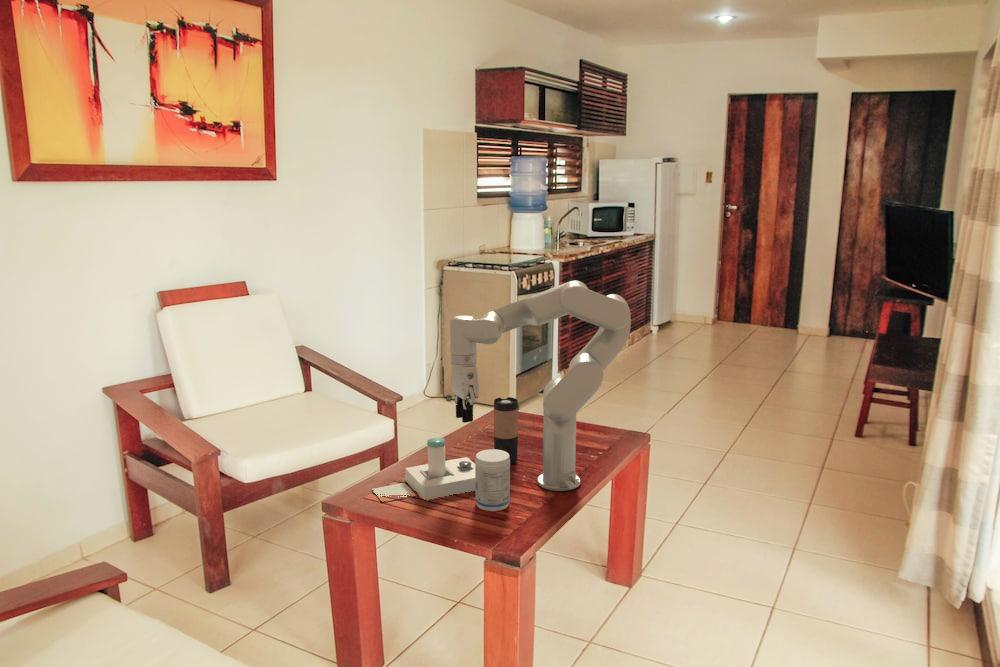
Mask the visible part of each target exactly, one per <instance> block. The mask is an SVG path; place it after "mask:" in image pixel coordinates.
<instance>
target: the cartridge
mask: <svg viewBox="0 0 1000 667" xmlns="http://www.w3.org/2000/svg"><path fill="white" fill-rule="evenodd" d="M445 461H446V439H444V438H442V437H433V438H432V437H431V438H429V439H427V464H428V476H429V477H430V478H431V479H434V478H440V477H445V476H446V472H445Z"/></svg>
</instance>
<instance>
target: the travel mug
mask: <svg viewBox="0 0 1000 667" xmlns="http://www.w3.org/2000/svg"><path fill="white" fill-rule="evenodd" d="M518 404H519V401H518V399H517V398H515V397H509V396H508V397H506V398H502V397H496V398H495V399H494V400H493V448H494V449H497V450H502V451H505V452H507V453H508V454H509V456H510V465H514V464H515V462H516V463H517V461H518V448H519V445H518V443H519V412H518V411H519V405H518Z"/></svg>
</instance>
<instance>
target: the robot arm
mask: <svg viewBox="0 0 1000 667" xmlns="http://www.w3.org/2000/svg"><path fill="white" fill-rule="evenodd" d="M568 315H570V316H572V317H574V318H576V319H578V320H581V321H583V322H586V323H589V324H592V325H594V326H597V327H599V328H598V330H597V331H596V332H595V334H594V335H593V337H591V339H590V340H589V341H588V343H586V345H584V346H583V348H582V349H580V351H579V352H578V353H577V354H576V355H575V356H574V357H573V358H572V359H571V360H570V362H569V364H568V371H567V372H566V373H565V374H564V376H563V377H555V378H553V379H550V380H549V382H547V383H546V385H545V387H544V389H543V392H542V393H543V394H542V395H543V396H542V408H543V411H542V412H543V421H542V422H543V424H542V426H543V427H542V428H543V430H542V436H543V437H542V444H543V445H542V474H540V475H538V477H537V484H538V485H539V486H540V487H541V488H543V489H546V490H547V491H553V492H566V491H572V490H575V489H577V488H579V487H580V485H581V478H580V477H579V476H578V475H577V472H576V452H577V450H576V449H577V448H576V445H577V444H576V443H577V440H576V439H577V437H576V436H577V413H578V412H579V411H580V410H581V409H582V408H583V407H584V405H586V403H588V402H589V400H590V399H591V398H592V397H593V396H594V395H595V394H596V392H598V391H599V389H600V387H601V386H602V384H603V382H604V377H605V376H604V375H605V374H604V372H605V370H607V369H606V368H608V367H609V365H610V364H611V363H612V362H613V361H614V359H615V358H616V357H617V356H618V355H619V353H620V352H621V351H622V350H623V348H624V347H625V345H626V344H627V341H628V340H629V336H630V332H631V326H632V323H631V322H632V319H631V309H630V306H629V304H628V302H627V301H626V300H625V298H624V297H623V296H621V295H619V294H615V293H611V294H607V295H604V294H601V293H599V292H596V291H594V290H591V289H590V288H588V286H587V285H586V284H585V283H584V282H582V281H580V280H570V281H568V282H564V283H562V284H560V285H556V286H555V287H552V288H549V289H546V290H545V291H542V292H539V293H536V294H535V295H532V296H529V297H526V298H523V299H521V300H517V301H514V302H511V303H508V304H506V305H503V306H500V307H498V308H496V309H493V310H490V311H488V312H486V313H484V314H483V315H482V316H481V317H480V318H478V319H476V318H475V317H474V316H472V315H461V314H460V315H456V316H452V317H451V318H450V320H449V341H450V343H449V345H450V346H449V347H450V348H449V349H450V350H449V351H450V353H449V354H450V365H451V378H450V379H451V380H450V381H451V382H450V383H451V391H452V394H454V399H455V400H454V403H455V418H456V419H461V421H462V423H463V424H465V423H470V422H471V423H472V422H473V421H474V408H475V407H474V405H475V404H476V402H477V401H476V399H478V398H479V397H480V392H479V391H480V389H479V387H480V386H479V375H478V369H477V363H478V362H477V361H478V360H477V344H484V345H493V344H496V343H497V342H498V341H499V340H500V339H501V337H502V334H504V333H507V332H509V331H512V330H515V329H518V328H521V327H525V326H541V325H544V324H547V323H550V322H552V321H555V320H557V319H559V318H562V317H564V316H568Z"/></svg>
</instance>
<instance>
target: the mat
mask: <svg viewBox="0 0 1000 667" xmlns="http://www.w3.org/2000/svg"><path fill="white" fill-rule="evenodd" d="M372 490H374V491H372ZM371 491H372V492H373V494H374V493H375V494H376V495H377V494H378V495H377V496H379V497H380V496H381V497H382V496H386V497H387V496H388V497H389V495H403V496H400V497H407V495H409V494H410V493H411V492H413V490H412V489H411V487H409V486H408V485H407V484H406V483H405V482H401V483H396V484H391V485H385V486H380V487H375V488H371ZM409 491H410V492H409ZM407 493H408V494H407ZM413 493H414V492H413ZM413 493H411V494H413ZM375 494H374V495H375ZM380 494H381V495H380ZM382 494H383V495H382ZM384 494H385V495H384ZM376 495H375V496H376ZM404 495H406V496H404ZM377 496H376V497H377ZM409 496H410V495H409ZM390 497H391V496H390ZM398 497H399V496H398Z"/></svg>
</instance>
